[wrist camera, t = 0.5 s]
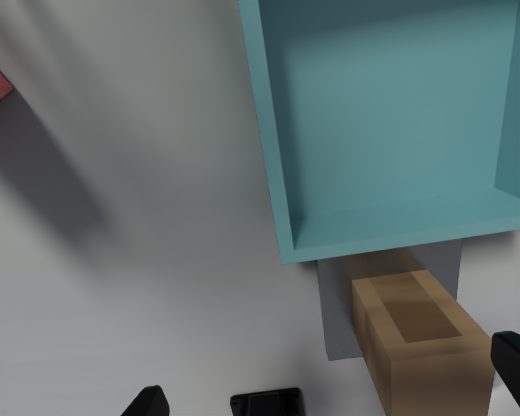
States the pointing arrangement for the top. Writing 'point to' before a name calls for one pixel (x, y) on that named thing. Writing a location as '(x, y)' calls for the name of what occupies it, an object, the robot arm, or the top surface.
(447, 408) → the taped shipping carton
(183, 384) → the top surface
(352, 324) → the stud plate
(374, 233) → the bin
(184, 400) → the top surface
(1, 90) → the ink cartridge box
